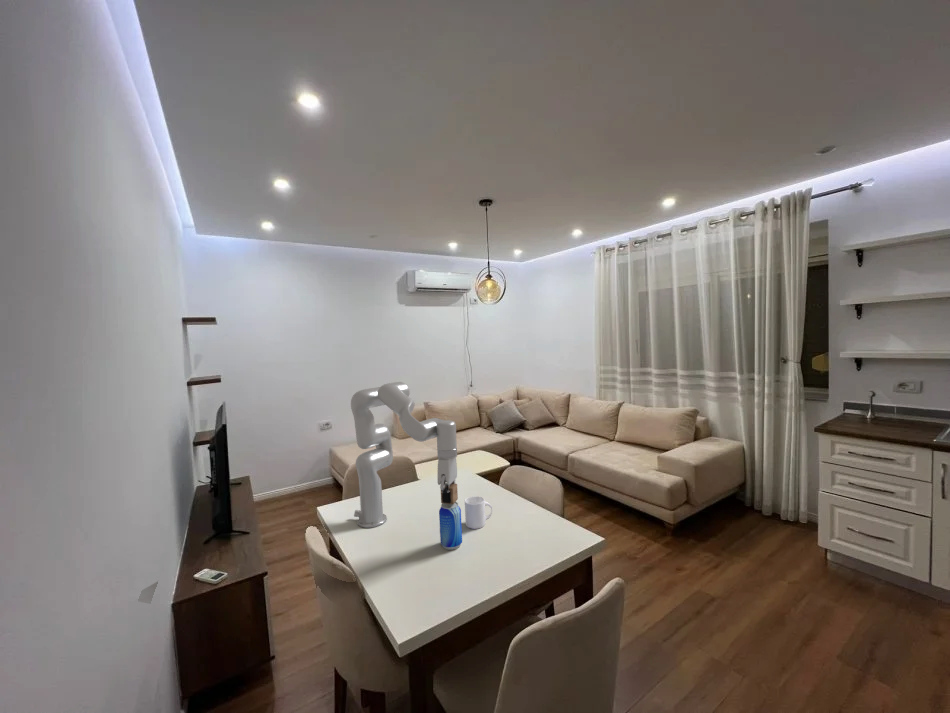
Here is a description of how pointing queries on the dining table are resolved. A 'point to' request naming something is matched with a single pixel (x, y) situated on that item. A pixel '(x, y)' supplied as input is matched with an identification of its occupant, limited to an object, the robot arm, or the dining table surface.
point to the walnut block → (452, 493)
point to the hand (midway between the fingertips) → (449, 499)
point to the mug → (476, 512)
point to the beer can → (450, 526)
